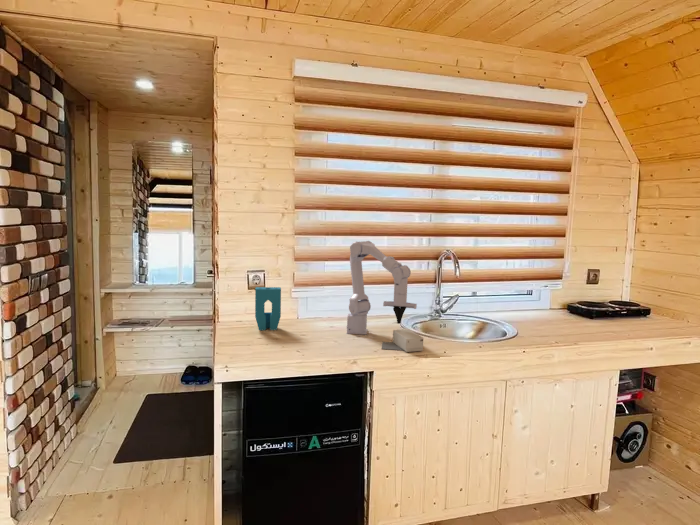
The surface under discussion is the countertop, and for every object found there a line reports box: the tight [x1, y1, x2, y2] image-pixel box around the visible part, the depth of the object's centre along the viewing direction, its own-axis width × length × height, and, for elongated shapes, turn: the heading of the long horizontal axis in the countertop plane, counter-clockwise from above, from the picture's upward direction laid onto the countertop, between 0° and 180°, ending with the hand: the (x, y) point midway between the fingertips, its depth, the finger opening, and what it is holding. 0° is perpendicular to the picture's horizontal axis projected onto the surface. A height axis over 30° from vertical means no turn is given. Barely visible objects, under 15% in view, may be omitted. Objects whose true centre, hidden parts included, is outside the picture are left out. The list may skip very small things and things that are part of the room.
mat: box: [381, 341, 406, 352], centre depth 201 cm, size 14×10×1 cm
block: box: [254, 286, 282, 331], centre depth 222 cm, size 12×5×20 cm, turn 100°
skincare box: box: [392, 328, 424, 353], centre depth 201 cm, size 8×6×15 cm
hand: (399, 323), depth 205 cm, fingers closed
